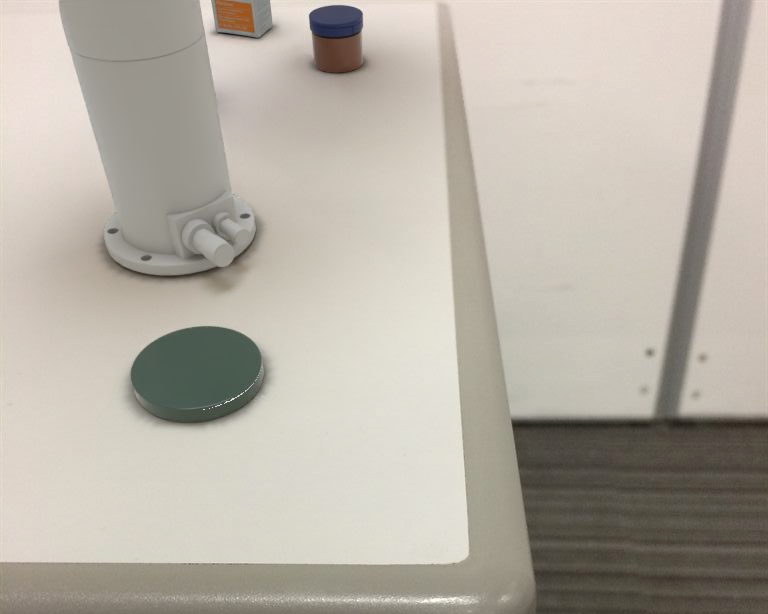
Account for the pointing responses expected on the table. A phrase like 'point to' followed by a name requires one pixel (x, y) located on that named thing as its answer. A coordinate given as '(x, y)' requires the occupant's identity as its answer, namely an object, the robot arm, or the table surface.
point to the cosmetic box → (242, 16)
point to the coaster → (197, 373)
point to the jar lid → (336, 21)
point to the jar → (337, 52)
